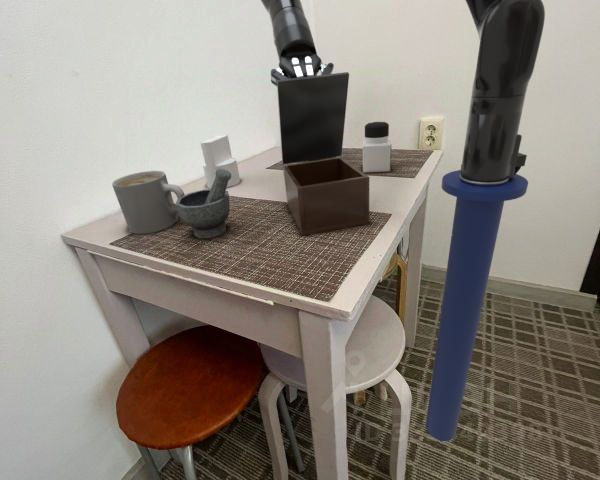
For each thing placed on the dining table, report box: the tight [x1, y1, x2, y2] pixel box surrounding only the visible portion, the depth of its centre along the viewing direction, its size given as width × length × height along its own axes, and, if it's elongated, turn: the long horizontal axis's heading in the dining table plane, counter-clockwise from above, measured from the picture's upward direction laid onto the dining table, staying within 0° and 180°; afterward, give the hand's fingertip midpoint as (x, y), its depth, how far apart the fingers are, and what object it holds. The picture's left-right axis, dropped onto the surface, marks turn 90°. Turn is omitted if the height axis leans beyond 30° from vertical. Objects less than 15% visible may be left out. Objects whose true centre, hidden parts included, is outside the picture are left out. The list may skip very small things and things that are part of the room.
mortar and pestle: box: [175, 169, 231, 239], centre depth 61 cm, size 11×9×12 cm
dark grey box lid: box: [276, 71, 350, 165], centre depth 62 cm, size 17×13×1 cm
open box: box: [282, 156, 370, 236], centre depth 64 cm, size 16×13×9 cm
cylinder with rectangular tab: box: [200, 134, 241, 189], centre depth 88 cm, size 9×9×12 cm
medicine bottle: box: [362, 121, 392, 174], centre depth 87 cm, size 7×7×12 cm
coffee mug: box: [111, 170, 186, 235], centre depth 67 cm, size 13×10×10 cm
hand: (311, 110), depth 61 cm, fingers closed
